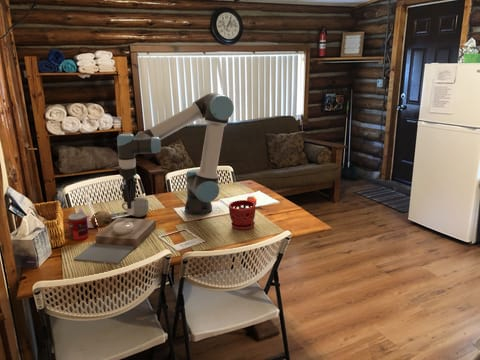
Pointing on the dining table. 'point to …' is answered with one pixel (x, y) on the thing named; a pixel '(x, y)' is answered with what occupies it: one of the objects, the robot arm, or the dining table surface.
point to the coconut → (101, 218)
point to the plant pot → (242, 214)
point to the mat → (104, 253)
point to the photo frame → (184, 244)
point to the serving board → (130, 239)
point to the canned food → (78, 226)
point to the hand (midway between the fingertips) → (131, 214)
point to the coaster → (123, 227)
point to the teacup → (139, 207)
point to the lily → (87, 219)
